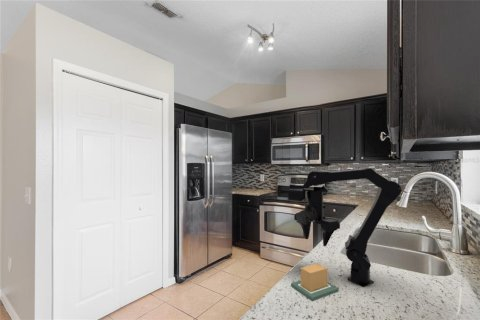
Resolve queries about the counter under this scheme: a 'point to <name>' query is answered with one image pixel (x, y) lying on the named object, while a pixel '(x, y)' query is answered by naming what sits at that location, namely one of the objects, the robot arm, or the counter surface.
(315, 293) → the board
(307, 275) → the block
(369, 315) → the counter surface
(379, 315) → the counter surface
